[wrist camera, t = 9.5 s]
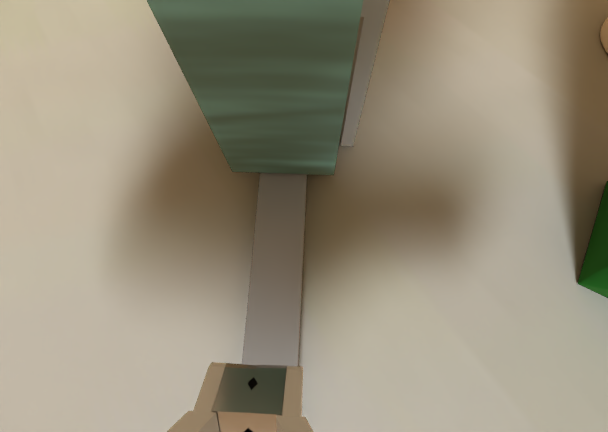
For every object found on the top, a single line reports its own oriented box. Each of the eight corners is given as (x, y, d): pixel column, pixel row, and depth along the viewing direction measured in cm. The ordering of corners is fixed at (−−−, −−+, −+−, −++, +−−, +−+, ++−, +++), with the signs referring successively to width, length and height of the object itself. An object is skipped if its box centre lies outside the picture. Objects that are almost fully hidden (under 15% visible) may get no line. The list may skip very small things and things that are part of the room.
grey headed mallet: (353, 429, 16) (421, 591, 7) (183, 420, 17) (-3, 562, 7) (352, 38, 24) (384, -163, 14) (236, 35, 24) (187, -164, 14)
